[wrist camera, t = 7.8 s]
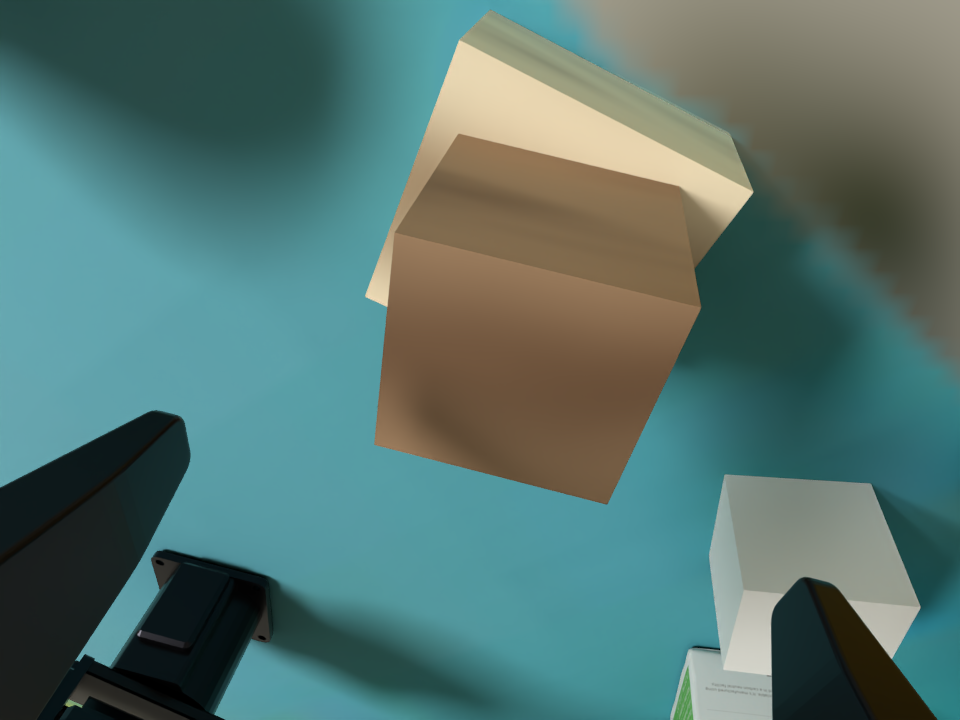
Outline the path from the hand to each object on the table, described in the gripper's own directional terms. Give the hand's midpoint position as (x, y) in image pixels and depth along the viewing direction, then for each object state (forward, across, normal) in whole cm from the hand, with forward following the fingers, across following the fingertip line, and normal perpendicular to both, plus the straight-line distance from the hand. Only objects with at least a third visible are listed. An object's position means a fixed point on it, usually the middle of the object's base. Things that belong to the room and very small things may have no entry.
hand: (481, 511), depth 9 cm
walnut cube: (+8, 0, 0) cm, 8 cm away
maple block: (+12, 0, 0) cm, 12 cm away
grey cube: (+12, -12, +11) cm, 20 cm away
